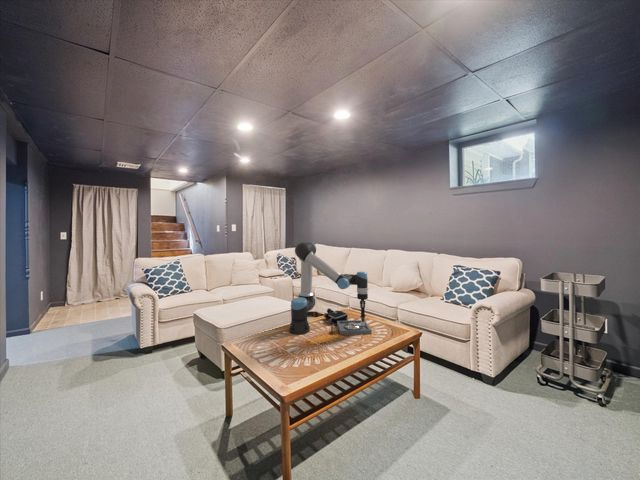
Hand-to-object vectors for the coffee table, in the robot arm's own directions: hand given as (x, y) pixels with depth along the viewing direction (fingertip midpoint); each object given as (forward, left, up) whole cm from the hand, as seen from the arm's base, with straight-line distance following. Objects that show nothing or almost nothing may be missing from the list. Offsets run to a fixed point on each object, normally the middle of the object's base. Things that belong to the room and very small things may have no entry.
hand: (363, 325), depth 211 cm
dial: (-6, +6, -3) cm, 9 cm away
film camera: (-18, +26, -5) cm, 32 cm away
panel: (-6, +6, -4) cm, 9 cm away
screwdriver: (-21, +4, -4) cm, 22 cm away
